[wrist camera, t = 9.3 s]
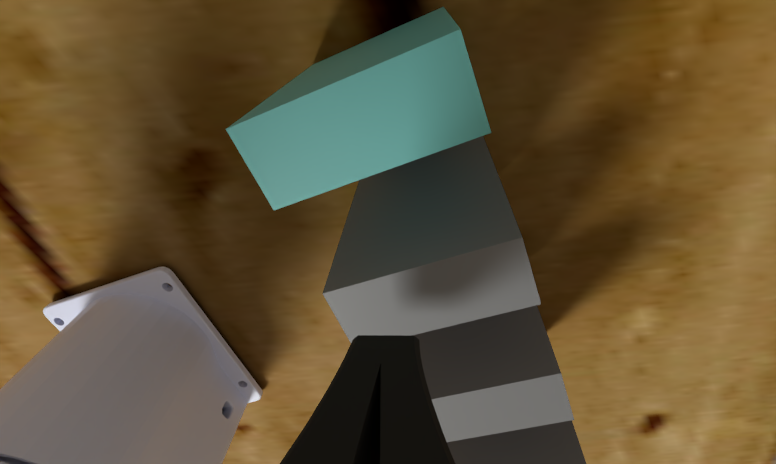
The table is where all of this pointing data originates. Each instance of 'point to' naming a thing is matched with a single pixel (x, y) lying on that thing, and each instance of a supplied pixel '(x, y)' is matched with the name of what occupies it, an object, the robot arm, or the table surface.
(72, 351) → the robot arm
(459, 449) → the gray domino
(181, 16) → the table surface
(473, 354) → the gray domino
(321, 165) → the teal domino
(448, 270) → the grey domino block
